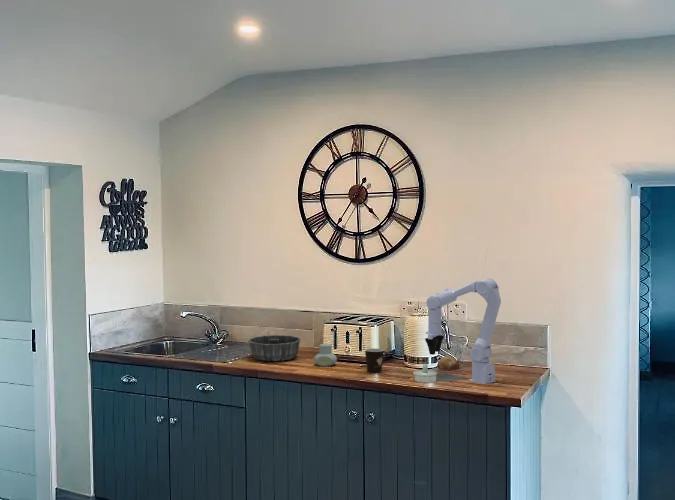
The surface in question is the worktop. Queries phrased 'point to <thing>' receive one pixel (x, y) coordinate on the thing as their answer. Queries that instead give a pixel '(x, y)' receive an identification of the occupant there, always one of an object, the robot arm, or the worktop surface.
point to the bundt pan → (274, 347)
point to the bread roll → (448, 363)
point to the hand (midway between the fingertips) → (434, 353)
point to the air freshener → (325, 356)
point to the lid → (425, 372)
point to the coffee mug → (374, 360)
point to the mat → (447, 377)
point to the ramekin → (425, 379)
